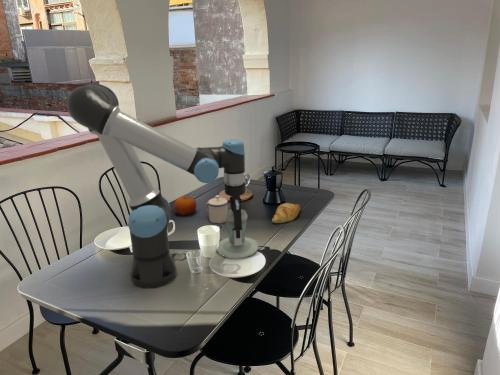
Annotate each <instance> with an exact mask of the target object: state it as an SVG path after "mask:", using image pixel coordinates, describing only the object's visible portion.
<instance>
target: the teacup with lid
mask: <svg viewBox="0 0 500 375" xmlns="http://www.w3.org/2000/svg"><path fill="white" fill-rule="evenodd" d="M228 204H229V201H228V200H227V198H225V197H221V196H220V195H219V194H218V195H215V196H214V197H213V198H210V199H209V200H208V201H207V202H206V204H205V209H206V211H207V212H208V219H209V221H210V222H211V223H213V224H222V223H226V219H225V215H226V212H227V211H228V210H229V209H228Z"/></svg>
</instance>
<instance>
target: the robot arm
mask: <svg viewBox="0 0 500 375" xmlns="http://www.w3.org/2000/svg"><path fill="white" fill-rule="evenodd" d="M66 107H67V108H66V109H67V111H68V114H69V116H71V118H72V119H73V120H74V121H75V122H76V123H77V124H79V125H81V126H83V127H85V128H87V129H88V131H89V133H90V134H93V135H96V136H97V138H98V139H99V141H100V144H101V145H102V147H103V149H104V151H105V152H106V153H105V154H106V155H107V157H108V159H109V160H110V162H111V164H112V166H113V168H114V170H115V172H116V174H117V175H118V177H119V180H120V182H121V183H122V185H123V187H124V189H125V191H126V193H127V194H128V196H129V198H130V199H129V201H128V206H129V208H130V210H131V212H130V214H129V215H128V222H127V224H128V230H129V235H130V242H131V248H132V255H133V256H132V257H133V259H132V264H131V268H130V272H129V274H130V282H131V283H132V285H134V286H136V287H138V288H140V289H141V288H142V289H154V288H159V287H163V286H165V285H168V284H170V282H171V283H172V281H173V280H174V279H175V278H176V276H177V275H178V271H177V264H176V262H175V261H174V259H173V257H172V255H171V253H170V246H169V245H170V244H169V235H168V233H169V231H168V230H169V224H170V219H171V217H172V216H171V215H172V208H171V205H170V203H169V201H168V200H167V199H166V198H165V197H164V196H163V195H162V193H161V191H160V189H158V188H156V187H154V186H153V184H152V182H151V180H150V179H149V176H148V174H147V172H146V170H145V168H144V167H143V164H142V162H141V160H140V158H139V157H138V156H139V155H138V154H137V151H135V148H136V149H139V150H141V151H143V152H146V153H148V154H150V155H151V156H154V157H155V158H157V159H160V160H163V161H164V162H166V163H168V164H171V165H173V166H175V167H177V168H179V169H181V170H183V171H185V172H187V173H189V174H191V175H193V176H194V177H195V179H196V180H198V182H200V183H203V184H210V183H212V182H214V181H215V180H217V178H218V176H219V174H220V169H223V181H224V182H223V183H224V194H225V195H227V196H229V205H230V210H231V209H232V211H233V216H234V229H232V230H234V245H235V246H238V245H242V233H241V230H242V219H241V209H242V198H241V196H242V195H245V193H246V177H247V173H246V172H245V171H246V165H245V164H246V160H245V159H246V158H245V154H246V153H245V143H244V142H243V141H242V140H241V139H237V138H236V139H231V138H230V139H225V140H224V141H223V142H222V145H221V146H212V147H211V146H210V147H209V146H208V147H206V146H205V147H195V148H194V147H192V146H191V145H188V144H186V143H184V142H183V141H181V140H178V139H176V138H174V137H173V136H170V135H169V134H166V133H164V132H162V131H160V130H159V129H157V128H155V127H152V126H151V125H148V124H146V123H145V122H143V121H140V120H139V119H136V118H134V117H132V116H131V115H129V114H127V113H126V112H123V111H121V109H120V107H119V99H118V97H117V94H116V93H115V92H114V91H113V90H112V89H111V88H110V87H109V86H106V85H103V84H100V83H91V84H87V85H82V86H78V87H76V88H75V89H73V90H72V91H71V92H70V94H69V95H68V96H67V101H66ZM134 147H135V148H134Z"/></svg>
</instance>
